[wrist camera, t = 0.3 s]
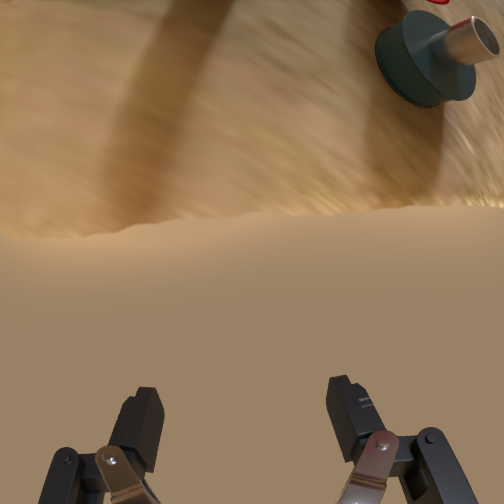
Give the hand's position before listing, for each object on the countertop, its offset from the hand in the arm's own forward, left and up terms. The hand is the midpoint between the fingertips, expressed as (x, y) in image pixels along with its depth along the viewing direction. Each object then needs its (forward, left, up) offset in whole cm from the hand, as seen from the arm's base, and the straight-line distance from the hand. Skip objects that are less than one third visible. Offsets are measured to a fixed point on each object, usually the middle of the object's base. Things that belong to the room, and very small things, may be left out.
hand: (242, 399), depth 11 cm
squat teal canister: (-29, +31, -29) cm, 52 cm away
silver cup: (-29, +31, -20) cm, 47 cm away
